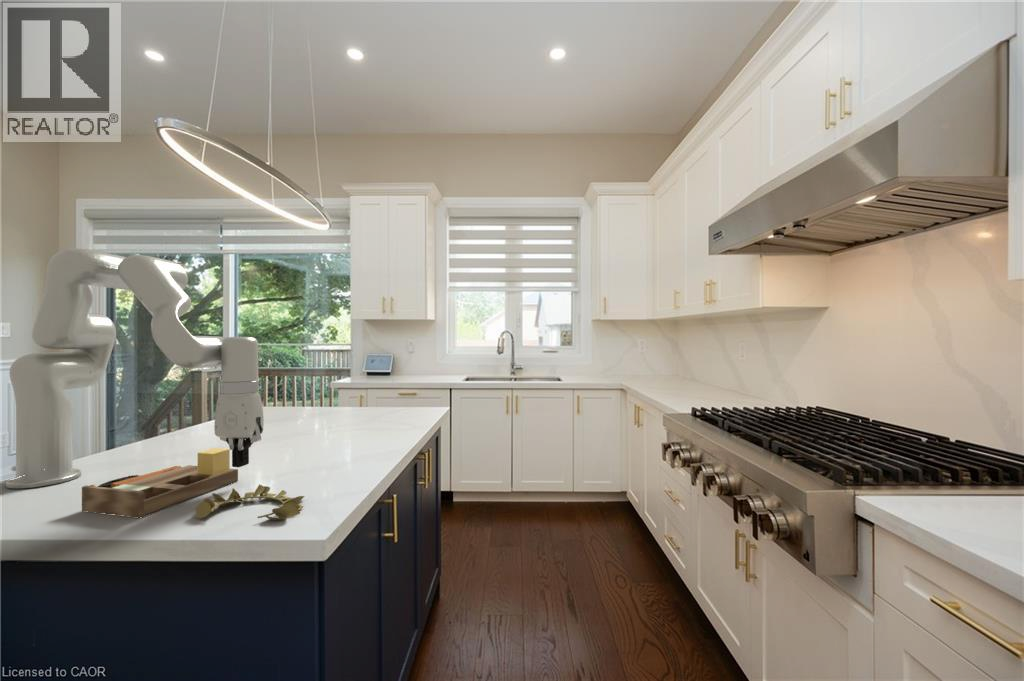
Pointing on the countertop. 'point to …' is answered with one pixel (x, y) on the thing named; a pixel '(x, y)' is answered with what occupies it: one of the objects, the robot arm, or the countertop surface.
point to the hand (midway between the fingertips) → (240, 465)
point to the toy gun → (133, 478)
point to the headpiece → (285, 511)
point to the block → (213, 461)
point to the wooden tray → (154, 492)
